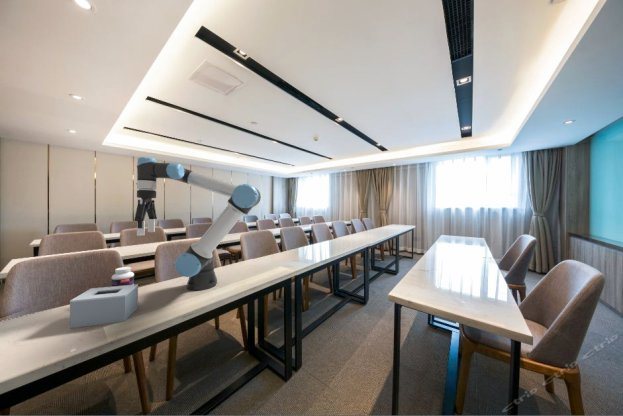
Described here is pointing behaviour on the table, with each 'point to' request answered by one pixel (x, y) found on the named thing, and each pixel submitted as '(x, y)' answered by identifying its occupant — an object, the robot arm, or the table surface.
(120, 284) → the pill bottle
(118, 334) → the table surface
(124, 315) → the box
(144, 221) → the robot arm
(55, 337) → the table surface
